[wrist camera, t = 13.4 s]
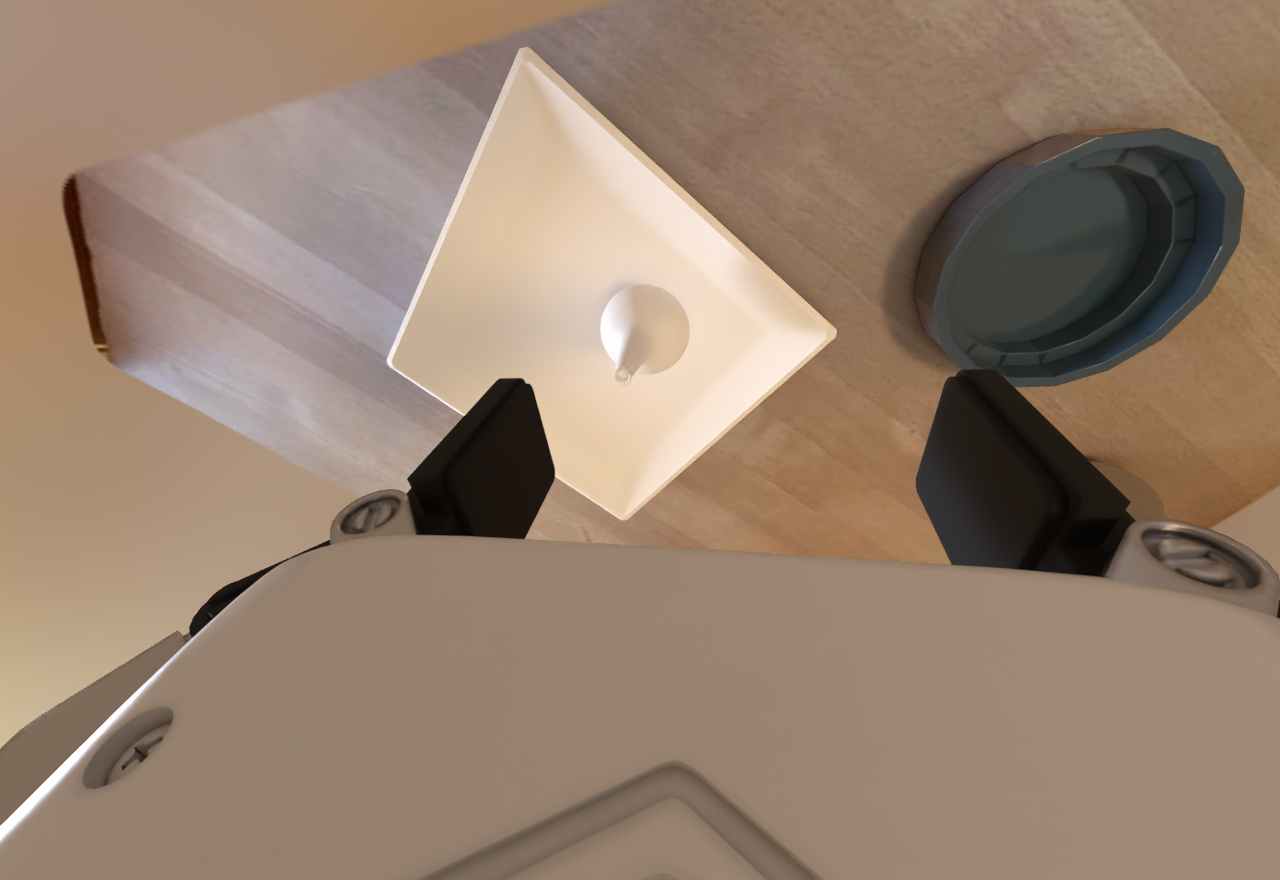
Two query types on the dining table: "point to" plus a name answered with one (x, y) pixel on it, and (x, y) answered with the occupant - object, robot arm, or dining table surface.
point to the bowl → (1079, 253)
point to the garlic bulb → (644, 331)
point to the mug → (1133, 492)
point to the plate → (595, 296)
